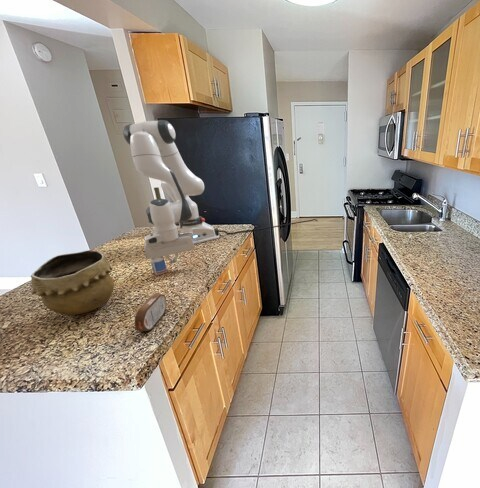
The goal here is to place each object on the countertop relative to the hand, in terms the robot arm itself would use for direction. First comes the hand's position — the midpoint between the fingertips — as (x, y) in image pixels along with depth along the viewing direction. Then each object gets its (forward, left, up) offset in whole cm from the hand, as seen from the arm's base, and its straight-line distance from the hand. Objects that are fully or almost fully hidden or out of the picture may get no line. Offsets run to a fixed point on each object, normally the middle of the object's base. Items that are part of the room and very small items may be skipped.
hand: (173, 262), depth 124 cm
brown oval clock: (+10, +41, -4) cm, 42 cm away
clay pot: (+30, +19, -4) cm, 36 cm away
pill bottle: (+6, 0, -4) cm, 7 cm away
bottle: (-1, -66, -4) cm, 66 cm away
